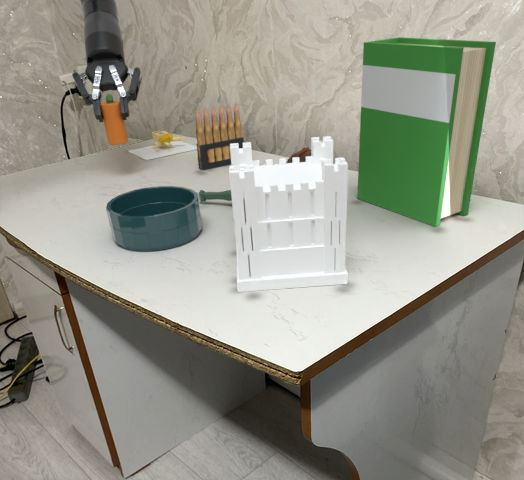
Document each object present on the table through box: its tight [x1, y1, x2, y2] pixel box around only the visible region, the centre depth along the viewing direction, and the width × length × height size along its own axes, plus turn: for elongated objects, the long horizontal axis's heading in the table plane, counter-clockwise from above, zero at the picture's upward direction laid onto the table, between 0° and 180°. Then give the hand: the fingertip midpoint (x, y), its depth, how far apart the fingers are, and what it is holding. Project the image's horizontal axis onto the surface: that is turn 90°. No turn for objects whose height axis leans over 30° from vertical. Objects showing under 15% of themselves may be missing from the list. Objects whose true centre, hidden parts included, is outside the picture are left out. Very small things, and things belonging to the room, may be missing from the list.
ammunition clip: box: [195, 102, 245, 171], centre depth 114 cm, size 11×2×12 cm, turn 118°
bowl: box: [105, 185, 203, 252], centre depth 85 cm, size 14×14×6 cm
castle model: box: [228, 135, 349, 293], centre depth 70 cm, size 14×14×15 cm
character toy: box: [151, 129, 185, 148], centre depth 131 cm, size 8×3×8 cm
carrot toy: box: [100, 93, 129, 146], centre depth 108 cm, size 4×4×9 cm
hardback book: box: [356, 36, 497, 228], centre depth 83 cm, size 18×7×24 cm, turn 34°
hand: (112, 118), depth 106 cm, fingers closed on carrot toy, 4 cm apart
